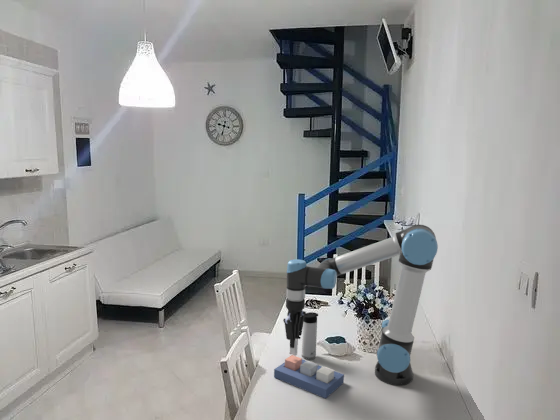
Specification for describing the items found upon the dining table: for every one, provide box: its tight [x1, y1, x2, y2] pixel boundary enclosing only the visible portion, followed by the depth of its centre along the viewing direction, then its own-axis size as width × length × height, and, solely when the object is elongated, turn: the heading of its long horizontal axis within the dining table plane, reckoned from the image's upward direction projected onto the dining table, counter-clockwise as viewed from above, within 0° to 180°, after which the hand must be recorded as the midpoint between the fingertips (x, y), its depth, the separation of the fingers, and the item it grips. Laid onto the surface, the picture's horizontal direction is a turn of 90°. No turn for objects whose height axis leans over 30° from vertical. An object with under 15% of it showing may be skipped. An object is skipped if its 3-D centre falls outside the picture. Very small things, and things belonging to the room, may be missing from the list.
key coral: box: [284, 354, 303, 371], centre depth 175 cm, size 5×5×4 cm
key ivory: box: [316, 365, 335, 384], centre depth 166 cm, size 5×5×4 cm
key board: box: [273, 358, 345, 399], centre depth 171 cm, size 24×14×4 cm, turn 54°
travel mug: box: [301, 311, 319, 361], centre depth 190 cm, size 6×7×20 cm
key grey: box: [300, 360, 318, 377], centre depth 171 cm, size 5×5×4 cm
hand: (293, 354), depth 174 cm, fingers closed
